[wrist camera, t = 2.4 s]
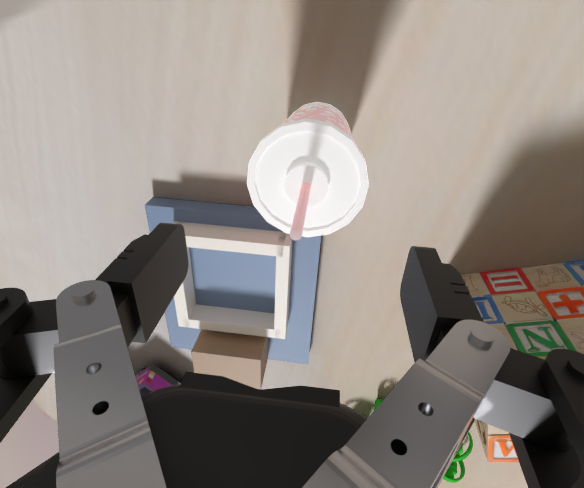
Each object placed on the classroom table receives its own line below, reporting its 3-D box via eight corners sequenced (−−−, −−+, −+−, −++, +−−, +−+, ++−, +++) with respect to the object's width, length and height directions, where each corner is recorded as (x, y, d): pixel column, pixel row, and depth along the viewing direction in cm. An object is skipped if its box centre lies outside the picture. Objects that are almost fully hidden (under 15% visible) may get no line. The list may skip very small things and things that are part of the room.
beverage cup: (291, 74, 24) (242, 128, 12) (376, 110, 24) (409, 196, 13) (263, 158, 27) (202, 266, 15) (339, 188, 28) (336, 316, 16)
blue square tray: (153, 197, 30) (118, 230, 25) (323, 213, 29) (319, 250, 24) (176, 336, 38) (154, 379, 34) (309, 352, 37) (304, 399, 33)
